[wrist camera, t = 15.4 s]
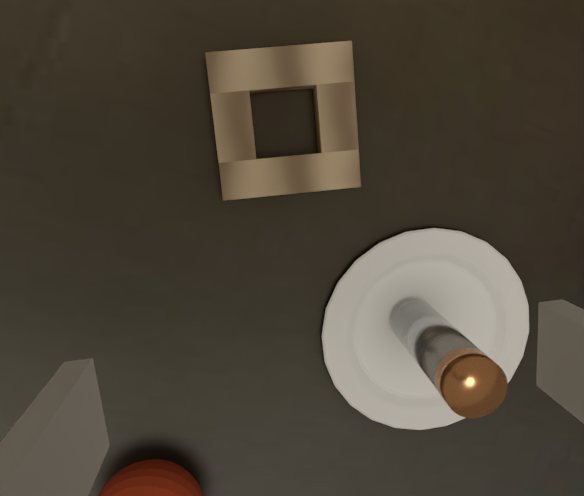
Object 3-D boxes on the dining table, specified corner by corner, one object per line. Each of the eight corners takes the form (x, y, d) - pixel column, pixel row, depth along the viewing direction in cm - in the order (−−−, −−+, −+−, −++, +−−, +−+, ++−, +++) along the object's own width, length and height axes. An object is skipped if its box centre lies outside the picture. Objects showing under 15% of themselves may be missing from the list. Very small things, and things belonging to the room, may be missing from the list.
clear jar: (391, 345, 47) (445, 421, 34) (390, 301, 46) (445, 363, 33) (436, 340, 47) (506, 414, 34) (436, 296, 46) (508, 356, 33)
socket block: (224, 197, 44) (223, 200, 41) (207, 58, 41) (205, 52, 39) (354, 184, 44) (361, 186, 42) (345, 47, 42) (351, 40, 40)
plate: (561, 324, 50) (572, 331, 48) (413, 459, 51) (419, 469, 50) (431, 180, 46) (438, 181, 44) (275, 331, 47) (276, 337, 45)
